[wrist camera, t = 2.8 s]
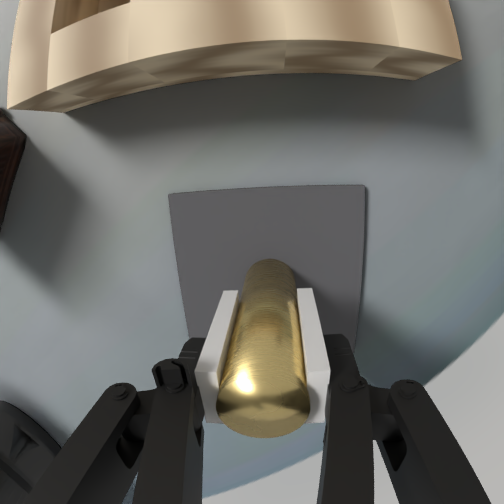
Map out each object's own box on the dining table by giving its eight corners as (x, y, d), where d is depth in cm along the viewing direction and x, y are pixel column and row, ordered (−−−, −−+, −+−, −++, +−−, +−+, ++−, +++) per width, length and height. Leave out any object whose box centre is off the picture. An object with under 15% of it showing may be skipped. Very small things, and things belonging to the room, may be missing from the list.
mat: (194, 353, 23) (193, 356, 22) (170, 193, 19) (168, 194, 19) (352, 349, 22) (354, 352, 21) (362, 184, 18) (364, 185, 18)
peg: (246, 304, 21) (222, 436, 10) (243, 259, 20) (209, 376, 9) (295, 303, 20) (307, 437, 10) (294, 257, 19) (312, 375, 9)
